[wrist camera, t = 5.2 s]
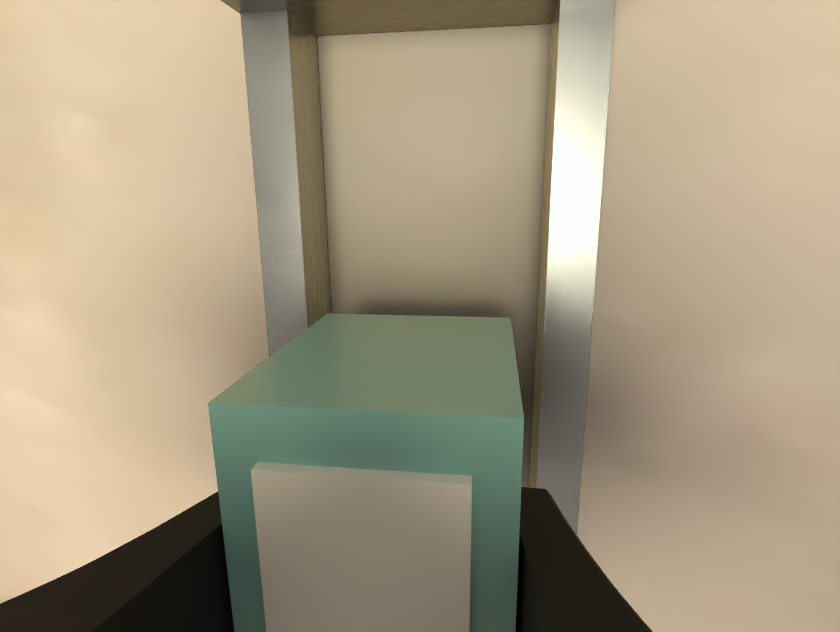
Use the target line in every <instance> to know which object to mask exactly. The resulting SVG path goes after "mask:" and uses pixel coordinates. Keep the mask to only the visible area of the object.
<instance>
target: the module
mask: <svg viewBox="0 0 840 632" xmlns="http://www.w3.org/2000/svg"><path fill="white" fill-rule="evenodd" d="M208 406H209V414H210V423H211V432H212V441H213V449H214V458H215V467H216V476H217V484H218V493H219V502H220V511H221V519H222V528H223V537H224V546H225V554H226V563H227V572H228V581H229V589H230V598H231V607H232V616H233V624H234V632H515V629H516V605H517V581H518V556H519V532H520V508H521V483H522V459H523V435H524V414H523V406H522V399H521V391H520V384H519V376H518V369H517V361H516V354H515V346H514V339H513V331H512V324H511V318H507V317H464V316H421V315H378V314H334V313H327V314H326V315H325V316H323V317H322V318H321V319H319V320H318V321H317V322H316V323H314V324H313V325H312V326H310V327H309V328H308V329H306V330H305V331H304V332H302V333H301V334H300V335H298V336H297V337H296V338H294V339H293V340H292V341H290V342H289V343H288V344H286V345H285V346H284V347H282V348H281V349H280V350H278V351H277V352H276V353H274V354H273V355H272V356H270V357H269V358H268V359H266V360H265V361H264V362H262V363H261V364H260V365H258V366H257V367H256V368H254V369H253V370H252V371H250V372H249V373H248V374H246V375H245V376H244V377H242V378H241V379H240V380H238V381H237V382H236V383H234V384H233V385H232V386H230V387H229V388H228V389H226V390H225V391H224V392H222V393H221V394H220V395H218V396H217V397H216V398H214V399H213V400H212V401H210V402H209V403H208Z"/></svg>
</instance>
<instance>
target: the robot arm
mask: <svg viewBox="0 0 840 632" xmlns="http://www.w3.org/2000/svg"><path fill="white" fill-rule="evenodd" d="M0 632H234V624H233V616H232V607H231V598H230V589H229V581H228V572H227V563H226V554H225V546H224V537H223V528H222V519H221V511H220V502H219V493H218V492H216V493H215V494H213V495H211V496H209V497H208V498H206V499H204V500H203V501H201V502H199V503H197V504H196V505H194V506H192V507H191V508H189V509H187V510H185V511H184V512H182V513H180V514H178V515H177V516H175V517H173V518H172V519H170V520H168V521H166V522H165V523H163V524H161V525H159V526H158V527H156V528H154V529H152V530H150V531H148V532H146V533H145V534H143V535H141V536H139V537H137V538H135V539H133V540H132V541H130V542H128V543H126V544H124V545H122V546H120V547H118V548H117V549H115V550H113V551H111V552H109V553H107V554H105V555H104V556H102V557H100V558H98V559H96V560H94V561H92V562H90V563H88V564H86V565H84V566H82V567H80V568H78V569H76V570H74V571H72V572H70V573H68V574H65V575H63V576H61V577H59V578H57V579H55V580H53V581H50V582H48V583H46V584H44V585H42V586H39V587H37V588H35V589H33V590H30V591H28V592H26V593H24V594H22V595H19V596H17V597H15V598H12V599H10V600H8V601H5V602H3V603H1V604H0ZM515 632H652V630H651V629H650V628H649V627H648V626H647V625H646V624H645V623H644V621H643V620H642V619H641V618H640V617H639V616H638V614H637V613H636V612H635V611H634V610H633V608H632V607H631V606H630V605H629V604H628V602H627V601H626V600H625V599H624V598H623V597H622V595H621V594H620V593H619V592H618V590H617V589H616V588H615V587H614V585H613V584H612V583H611V582H610V580H609V579H608V578H607V576H606V575H605V574H604V572H603V571H602V570H601V568H600V567H599V566H598V564H597V563H596V562H595V560H594V559H593V558H592V556H591V555H590V554H589V552H588V551H587V550H586V548H585V547H584V545H583V544H582V542H581V541H580V540H579V538H578V537H577V535H576V534H575V532H574V531H573V529H572V528H571V526H570V525H569V523H568V522H567V520H566V519H565V517H564V515H563V514H562V512H561V511H560V509H559V507H558V506H557V504H556V502H555V500H554V499H553V497H552V495H551V494H550V493H549V492H548V491H547V490H546V489H542V488H527V487H521V508H520V532H519V556H518V581H517V605H516V629H515Z"/></svg>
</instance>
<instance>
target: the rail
mask: <svg viewBox="0 0 840 632" xmlns="http://www.w3.org/2000/svg"><path fill="white" fill-rule="evenodd" d="M221 1H222V2H224V3H225V4H227V5H228V6H230V7H231V8H233V9H234V10H236V11H237V12H239V13H240V14H241V25H242V37H243V49H244V60H245V72H246V84H247V96H248V108H249V120H250V132H251V144H252V156H253V167H254V179H255V191H256V203H257V215H258V227H259V239H260V251H261V262H262V274H263V286H264V298H265V310H266V322H267V334H268V346H269V357H270V356H272V355H273V354H274V353H276V352H277V351H278V350H280V349H281V348H282V347H284V346H285V345H286V344H288V343H289V342H290V341H292V340H293V339H294V338H296V337H297V336H298V335H300V334H301V333H302V332H304V331H305V330H306V329H308V328H309V327H310V326H312V325H313V324H314V323H316V322H317V321H318V320H319V319H321V318H322V317H323V316H325V315H326V314H327V313H331V302H330V283H329V264H328V245H327V226H326V207H325V188H324V169H323V150H322V131H321V113H320V94H319V75H318V56H317V37H316V36H322V35H341V34H360V33H379V32H399V31H418V30H437V29H456V28H475V27H494V26H513V25H533V24H551V30H550V52H549V74H548V95H547V117H546V139H545V161H544V182H543V204H542V226H541V248H540V270H539V291H538V313H537V335H536V357H535V378H534V400H533V422H532V444H531V465H530V487H529V488H542V489H546V490H547V491H548V492H549V493H550V494H551V495H552V497H553V499H554V500H555V502H556V504H557V506H558V507H559V509H560V511H561V512H562V514H563V515H564V517H565V519H566V520H567V522H568V523H569V525H570V526H571V528H572V529H573V531H574V532H575V534H576V535H577V523H578V509H579V495H580V482H581V468H582V454H583V440H584V426H585V413H586V399H587V385H588V371H589V357H590V343H591V330H592V316H593V302H594V288H595V274H596V261H597V247H598V233H599V219H600V205H601V192H602V178H603V164H604V150H605V136H606V123H607V109H608V95H609V81H610V67H611V53H612V40H613V26H614V12H615V0H221Z"/></svg>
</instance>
